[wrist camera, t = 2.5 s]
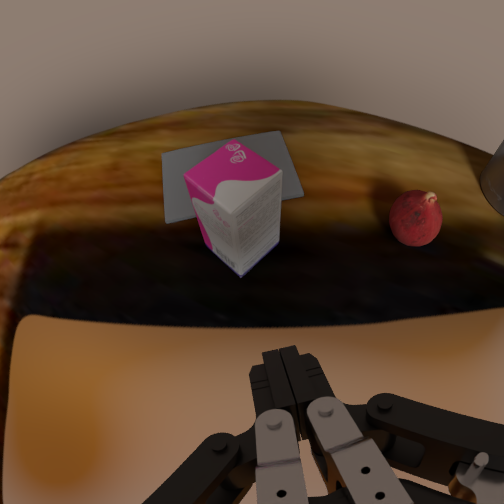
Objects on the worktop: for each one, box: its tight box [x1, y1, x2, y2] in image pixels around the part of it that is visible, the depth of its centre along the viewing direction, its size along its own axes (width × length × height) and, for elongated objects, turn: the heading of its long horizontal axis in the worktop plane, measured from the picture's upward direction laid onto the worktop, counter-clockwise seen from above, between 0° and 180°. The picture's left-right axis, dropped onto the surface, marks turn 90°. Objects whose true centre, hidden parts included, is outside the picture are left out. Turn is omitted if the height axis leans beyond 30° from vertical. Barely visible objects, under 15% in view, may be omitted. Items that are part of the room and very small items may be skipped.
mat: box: [162, 131, 304, 224], centre depth 38 cm, size 16×11×1 cm
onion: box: [389, 190, 443, 246], centre depth 30 cm, size 6×6×8 cm
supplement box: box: [183, 139, 283, 278], centre depth 29 cm, size 6×6×12 cm
